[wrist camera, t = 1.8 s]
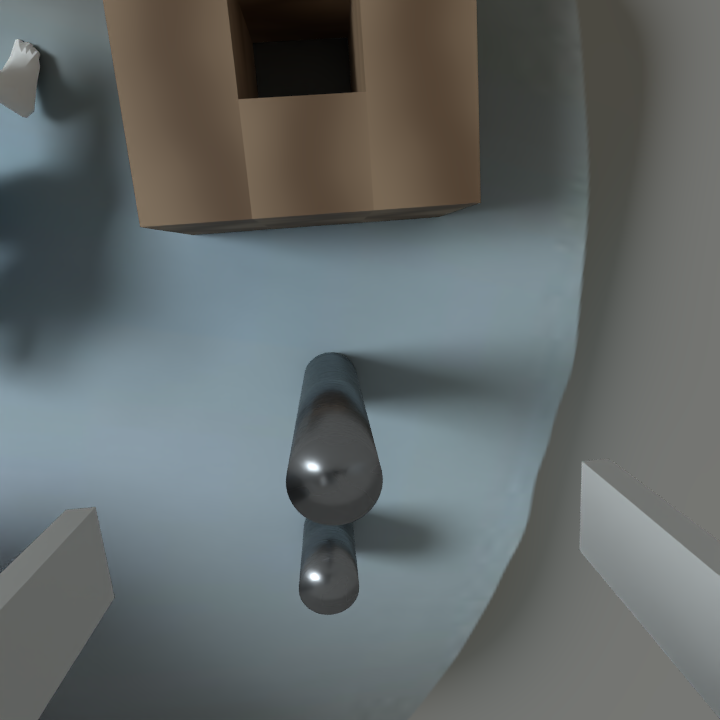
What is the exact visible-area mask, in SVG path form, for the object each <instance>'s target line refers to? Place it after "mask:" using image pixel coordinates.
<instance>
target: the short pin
mask: <svg viewBox="0 0 720 720" xmlns="http://www.w3.org/2000/svg"><path fill="white" fill-rule="evenodd" d="M358 592H359V580H358V570H357V560H356V550H355V540H354V530H353V522H351V523H347V524H343V525H333V526H332V525H323V524H319V523H316V522H313V521H311V520H309V519H308V518H306V520H305V523H304V532H303V545H302V557H301V569H300V582H299V594H300V597H301V600H302V602H303V603H304V604H305V605H306V606H307V607H308V608H309V609H310V610H312V611H314V612H316V613H319V614H325V615H331V614H337V613H340V612H342V611H344V610H346V609H347V608H349V607H350V606H351V605H352V604H353V603H354V601H355V600H356V598H357V596H358Z"/></svg>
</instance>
